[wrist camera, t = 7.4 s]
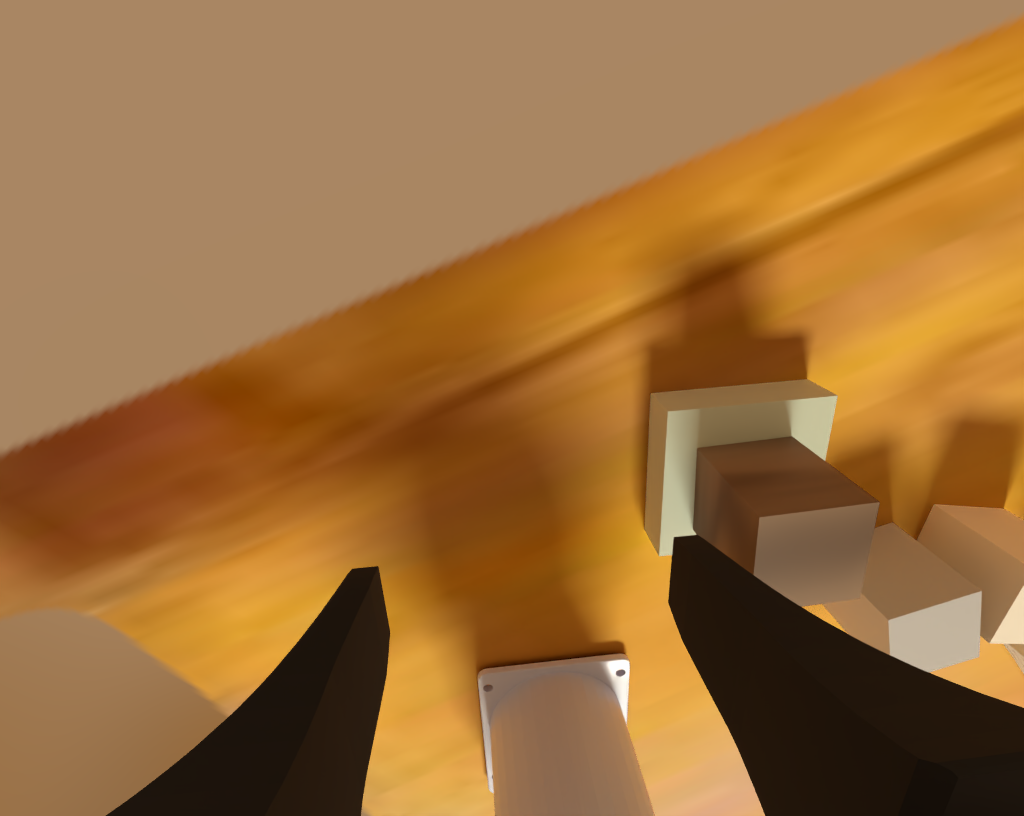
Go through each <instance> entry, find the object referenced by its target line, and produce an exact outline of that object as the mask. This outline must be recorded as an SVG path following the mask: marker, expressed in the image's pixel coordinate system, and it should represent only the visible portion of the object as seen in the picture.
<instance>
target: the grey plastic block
mask: <svg viewBox="0 0 1024 816" xmlns="http://www.w3.org/2000/svg"><path fill="white" fill-rule="evenodd" d="M981 600H982V591H981V590H980V589H979V588H977V587H976V586H975V585H974V584H972V583H971V582H970V581H968V580H967V579H966V578H964V577H963V576H962V575H961V574H959V573H958V572H957V571H955V570H954V569H953V568H951V567H950V566H949V565H948V564H946V563H945V562H944V561H942V560H941V559H940V558H938V557H937V556H936V555H935V554H933V553H932V552H931V551H929V550H928V549H927V548H925V547H924V546H923V545H922V544H920V543H919V542H918V541H916V540H915V539H914V538H912V537H911V536H910V535H909V534H907V533H906V532H905V531H903V530H902V529H901V528H899V527H898V526H897V525H896V524H894V523H893V522H892V523H889V524H886V525H883V526H879V527H876V528H874V533H873V538H872V543H871V548H870V553H869V557H868V562H867V567H866V572H865V577H864V582H863V587H862V592H861V597H860V599H854V600H847V601H839V602H832V603H824V604H822V605H823V606H824V607H825V608H826V609H827V610H828V612H829V613H830V614H831V615H832V616H833V617H834V618H835V620H836V621H837V622H838V623H839V624H840V625H841V626H842V628H843V629H844V630H845V631H846V632H847V633H848V634H849V635H851V636H852V637H854V638H856V639H858V640H860V641H862V642H864V643H866V644H868V645H870V646H872V647H874V648H876V649H878V650H880V651H882V652H884V653H886V654H889V655H891V656H893V657H895V658H897V659H899V660H901V661H904V662H906V663H908V664H910V665H912V666H914V667H917V668H919V669H922V670H924V671H926V672H932V671H935V670H938V669H942V668H945V667H948V666H951V665H955V664H958V663H961V662H964V661H968V660H971V659H974V658H977V657H979V650H980V625H981Z"/></svg>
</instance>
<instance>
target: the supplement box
mask: <svg viewBox="0 0 1024 816" xmlns="http://www.w3.org/2000/svg"><path fill="white" fill-rule="evenodd" d="M1004 645H1005V647H1006V648H1007V650H1008V651H1009V652H1010V654H1011V655H1012V657H1013V658H1014V660H1015V661H1016V663H1017V664H1018V666H1019V667H1020V669H1021V671H1022V672H1023V674H1024V644H1004Z"/></svg>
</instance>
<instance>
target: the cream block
mask: <svg viewBox="0 0 1024 816" xmlns="http://www.w3.org/2000/svg"><path fill="white" fill-rule="evenodd" d="M916 541H918V542H919V543H920V544H922V545H923V546H924V547H925V548H927V549H928V550H929V551H931V552H932V553H933V554H935V555H936V556H937V557H938V558H940V559H941V560H942V561H944V562H945V563H946V564H948V565H949V566H950V567H951V568H953V569H954V570H955V571H957V572H958V573H959V574H961V575H962V576H963V577H964V578H966V579H967V580H968V581H970V582H971V583H972V584H974V585H975V586H976V587H977V588H979V589H980V590H981V591H982V600H981V625H980V636H982V637H983V638H984V639H985V640H986V641H987V642H989V643H999V644H1024V520H1022V519H1021V518H1019V517H1017V516H1016V515H1014V514H1012V513H1010V512H1009V511H1007V510H1005V509H1004V508H988V507H972V506H956V505H939V504H934V505H933V507H932V509H931V511H930V513H929V515H928V518H927V520H926V522H925V524H924V526H923V528H922V530H921V532H920V534H919V536H918V538H917V540H916Z"/></svg>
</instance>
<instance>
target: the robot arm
mask: <svg viewBox="0 0 1024 816" xmlns="http://www.w3.org/2000/svg"><path fill="white" fill-rule="evenodd" d="M668 603H669V606H670V608H671V611H672V614H673V617H674V620H675V622H676V625H677V628H678V630H679V633H680V635H681V638H682V640H683V643H684V645H685V647H686V649H687V651H688V652H689V654H690V656H691V658H692V660H693V662H694V664H695V666H696V668H697V670H698V672H699V674H700V676H701V677H702V679H703V681H704V683H705V685H706V687H707V689H708V691H709V693H710V695H711V696H712V698H713V700H714V702H715V704H716V706H717V708H718V710H719V712H720V714H721V715H722V717H723V719H724V721H725V723H726V725H727V727H728V729H729V731H730V733H731V735H732V737H733V739H734V741H735V743H736V745H737V748H738V750H739V752H740V754H741V757H742V759H743V762H744V764H745V767H746V769H747V771H748V774H749V776H750V779H751V781H752V784H753V786H754V788H755V791H756V793H757V796H758V798H759V801H760V803H761V806H762V808H763V811H764V814H765V816H1024V708H1022V707H1019V706H1016V705H1013V704H1010V703H1008V702H1005V701H1002V700H999V699H996V698H993V697H990V696H987V695H984V694H981V693H979V692H976V691H973V690H971V689H968V688H966V687H963V686H961V685H958V684H956V683H953V682H951V681H948V680H946V679H943V678H940V677H938V676H936V675H933V674H931V673H929V672H926V671H924V670H922V669H919V668H917V667H914V666H912V665H910V664H908V663H906V662H904V661H901V660H899V659H897V658H895V657H893V656H891V655H889V654H886V653H884V652H882V651H880V650H878V649H876V648H874V647H872V646H870V645H868V644H866V643H864V642H862V641H860V640H858V639H856V638H854V637H852V636H851V635H849V634H847V633H845V632H843V631H841V630H840V629H838V628H836V627H834V626H832V625H831V624H829V623H827V622H825V621H823V620H822V619H820V618H818V617H817V616H815V615H813V614H812V613H810V612H808V611H807V610H805V609H804V608H802V607H801V606H799V605H797V604H796V603H794V602H793V601H791V600H789V599H788V598H786V597H785V596H783V595H782V594H780V593H779V592H777V591H776V590H774V589H773V588H771V587H770V586H768V585H767V584H766V583H764V582H763V581H761V580H760V579H758V578H757V577H756V576H754V575H753V574H751V573H750V572H749V571H747V570H746V569H744V568H743V567H742V566H740V565H739V564H738V563H736V562H735V561H733V560H732V559H731V558H729V557H728V556H727V555H725V554H724V553H723V552H721V551H720V550H719V549H717V548H716V547H714V546H713V545H712V544H710V543H709V542H708V541H706V540H705V539H703V538H702V537H700V536H699V535H690V536H679V537H674V539H673V551H672V564H671V576H670V588H669V600H668ZM389 640H390V629H389V623H388V618H387V612H386V606H385V601H384V595H383V590H382V584H381V579H380V573H379V567H378V566H376V567H366V568H356V569H352V570H351V571H350V572H349V573H348V574H347V576H346V577H345V579H344V580H343V582H342V583H341V585H340V586H339V587H338V589H337V590H336V592H335V593H334V595H333V596H332V597H331V599H330V600H329V602H328V603H327V604H326V606H325V607H324V608H323V610H322V611H321V613H320V614H319V615H318V617H317V618H316V619H315V620H314V622H313V623H312V624H311V626H310V627H309V628H308V630H307V631H306V632H305V634H304V635H303V636H302V637H301V639H300V640H299V641H298V642H297V644H296V645H295V646H294V647H293V648H292V650H291V651H290V652H289V653H288V654H287V655H286V657H285V658H284V659H283V660H282V661H281V663H280V664H279V665H278V666H277V667H276V668H275V670H274V671H273V672H272V673H271V674H270V675H269V676H268V677H267V678H266V680H265V681H264V682H263V683H262V684H261V685H260V686H259V687H258V688H257V689H256V690H255V691H254V692H253V693H252V694H251V695H250V696H249V697H248V698H247V699H246V700H245V702H244V703H243V704H242V705H241V706H240V707H239V708H238V709H237V710H236V711H234V712H233V713H232V714H231V715H230V716H229V717H228V718H227V719H226V720H225V721H224V722H223V723H221V724H220V725H219V726H218V727H217V728H216V729H215V730H214V731H212V732H211V733H210V734H209V735H208V736H207V737H206V738H205V739H204V740H203V741H201V742H200V743H199V744H198V745H197V746H196V747H195V748H194V749H192V750H191V751H190V752H189V753H187V755H185V756H184V757H183V758H181V759H180V760H179V761H178V762H177V763H175V764H174V765H173V766H172V767H170V768H169V769H168V770H167V771H165V772H164V773H163V774H161V775H160V776H159V777H158V778H156V779H155V780H154V781H152V782H151V783H150V784H149V785H147V786H146V787H145V788H143V789H142V790H141V791H139V792H138V793H137V794H136V795H134V796H133V797H131V798H130V799H129V800H128V801H126V802H125V803H123V804H122V805H121V806H119V807H117V808H116V809H115V810H113V811H112V812H110V813H109V814H108V815H106V816H361V809H362V800H363V793H364V787H365V781H366V775H367V769H368V765H369V760H370V755H371V750H372V745H373V740H374V735H375V730H376V725H377V720H378V715H379V711H380V706H381V701H382V695H383V690H384V685H385V680H386V675H387V664H388V653H389ZM620 669H621V670H620ZM629 673H630V662H629V659H628V657H627V656H626V655H625V654H610V655H601V656H592V657H584V658H575V659H566V660H557V661H548V662H539V663H531V664H522V665H513V666H504V667H495V668H486V669H483V670H481V671H480V672H479V673H478V688H479V698H480V708H481V718H482V728H483V738H484V748H485V758H486V768H487V778H488V788H489V791H491V792H492V793H494V807H495V816H655V814H654V811H653V808H652V805H651V801H650V798H649V795H648V792H647V789H646V785H645V782H644V779H643V776H642V773H641V769H640V766H639V763H638V760H637V757H636V754H635V750H634V747H633V744H632V741H631V738H630V734H629V731H628V728H627V713H628V693H629Z"/></svg>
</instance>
